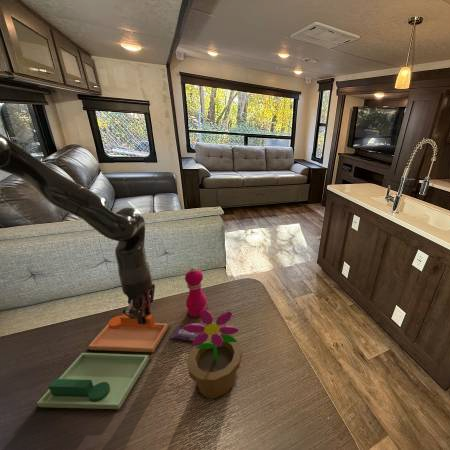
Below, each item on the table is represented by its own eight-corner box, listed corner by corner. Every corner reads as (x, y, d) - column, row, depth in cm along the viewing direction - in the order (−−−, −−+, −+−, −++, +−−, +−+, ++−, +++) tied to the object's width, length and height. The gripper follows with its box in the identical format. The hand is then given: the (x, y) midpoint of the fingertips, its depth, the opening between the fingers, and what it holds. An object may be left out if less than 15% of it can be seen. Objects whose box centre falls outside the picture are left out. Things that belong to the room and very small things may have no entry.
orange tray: (89, 351, 76) (87, 346, 75) (111, 325, 86) (110, 321, 85) (153, 353, 77) (152, 348, 77) (168, 328, 87) (167, 323, 86)
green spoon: (114, 385, 67) (111, 376, 66) (102, 402, 63) (99, 392, 62) (63, 383, 66) (59, 374, 65) (48, 401, 62) (43, 391, 61)
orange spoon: (105, 328, 77) (103, 319, 75) (115, 318, 81) (112, 309, 79) (149, 331, 78) (147, 322, 76) (156, 320, 82) (155, 312, 80)
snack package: (169, 335, 82) (177, 324, 86) (170, 340, 82) (178, 328, 87) (203, 340, 81) (209, 328, 86) (204, 344, 82) (210, 332, 87)
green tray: (39, 408, 61) (36, 403, 60) (83, 357, 74) (82, 352, 73) (119, 410, 62) (117, 405, 61) (149, 360, 75) (148, 355, 75)
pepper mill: (185, 319, 91) (180, 274, 83) (188, 305, 98) (183, 262, 90) (206, 316, 93) (203, 272, 85) (207, 303, 100) (204, 261, 92)
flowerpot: (186, 412, 63) (173, 323, 52) (193, 362, 76) (184, 282, 64) (243, 399, 67) (243, 315, 56) (240, 354, 80) (240, 277, 68)
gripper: (136, 262, 78) (144, 305, 85) (105, 289, 65) (118, 337, 72) (160, 263, 78) (167, 306, 85) (134, 291, 66) (145, 338, 73)
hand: (144, 320), depth 79 cm, fingers closed on orange spoon, 2 cm apart
